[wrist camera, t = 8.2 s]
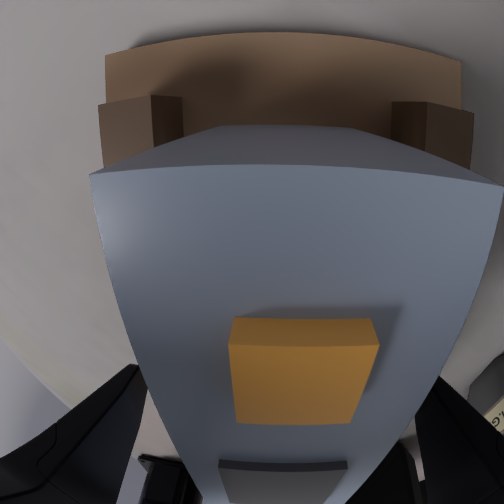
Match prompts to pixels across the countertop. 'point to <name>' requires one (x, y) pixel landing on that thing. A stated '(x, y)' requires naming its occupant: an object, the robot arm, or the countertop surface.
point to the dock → (283, 91)
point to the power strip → (291, 296)
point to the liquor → (490, 393)
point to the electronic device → (391, 481)
